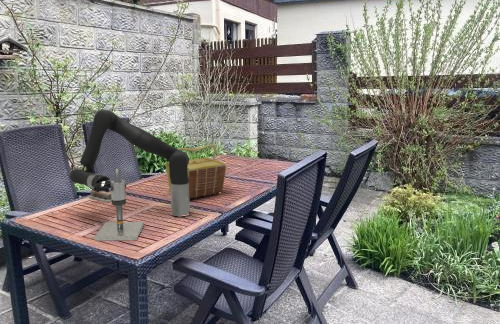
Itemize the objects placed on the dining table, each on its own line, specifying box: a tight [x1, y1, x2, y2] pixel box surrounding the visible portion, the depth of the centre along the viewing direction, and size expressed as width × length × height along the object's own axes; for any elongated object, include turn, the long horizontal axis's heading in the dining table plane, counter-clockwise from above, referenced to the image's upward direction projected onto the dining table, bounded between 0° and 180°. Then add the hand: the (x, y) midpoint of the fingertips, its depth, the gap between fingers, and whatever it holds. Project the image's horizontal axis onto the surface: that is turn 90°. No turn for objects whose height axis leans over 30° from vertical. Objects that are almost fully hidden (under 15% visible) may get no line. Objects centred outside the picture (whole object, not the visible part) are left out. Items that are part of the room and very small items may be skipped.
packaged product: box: [87, 189, 112, 204], centre depth 247 cm, size 18×5×10 cm
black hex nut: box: [111, 198, 127, 207], centre depth 189 cm, size 6×6×2 cm
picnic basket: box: [165, 144, 227, 200], centre depth 253 cm, size 29×26×30 cm
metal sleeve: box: [110, 179, 127, 201], centre depth 188 cm, size 6×6×8 cm
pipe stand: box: [94, 168, 145, 242], centre depth 189 cm, size 18×18×30 cm
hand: (117, 188), depth 189 cm, fingers open, 8 cm apart
